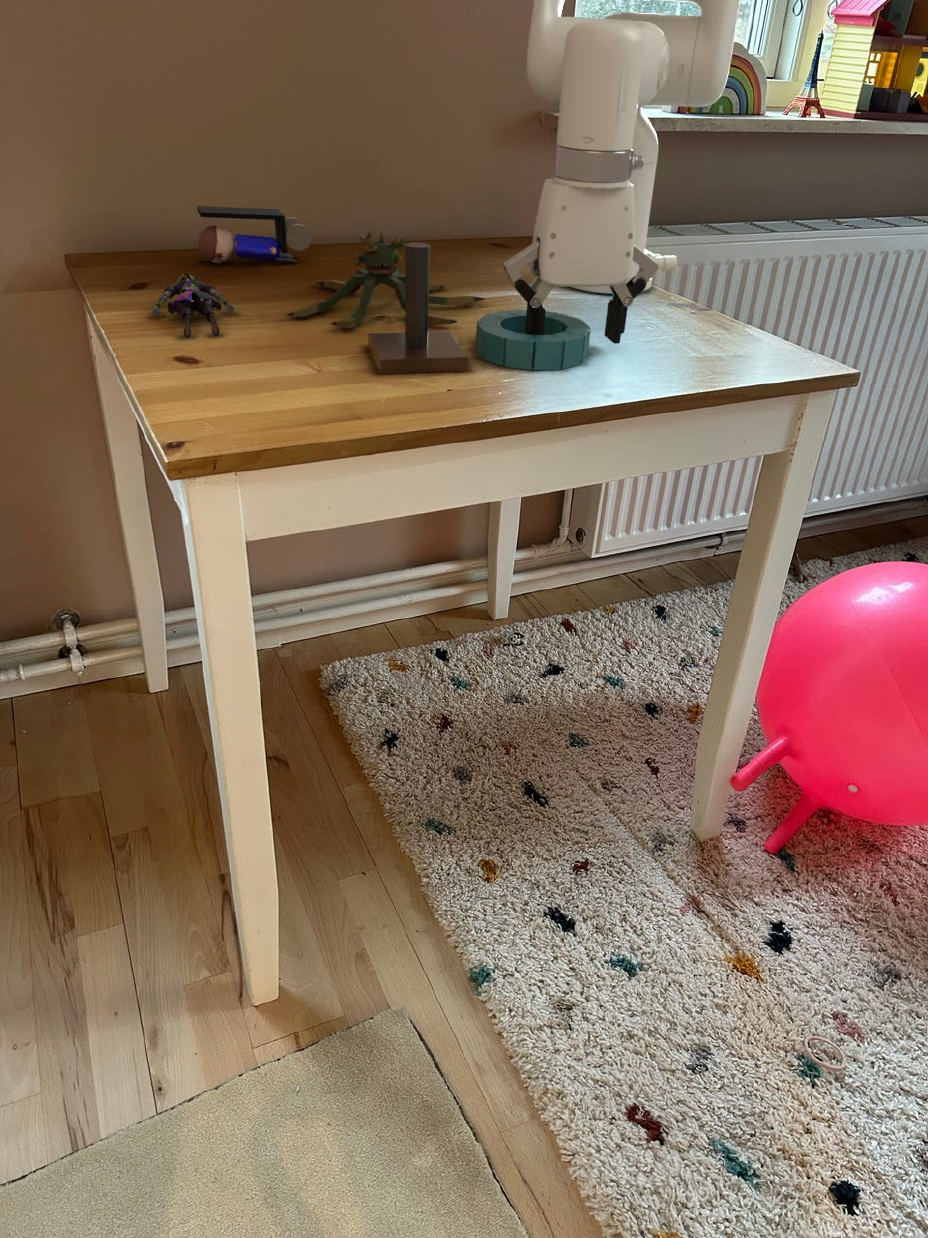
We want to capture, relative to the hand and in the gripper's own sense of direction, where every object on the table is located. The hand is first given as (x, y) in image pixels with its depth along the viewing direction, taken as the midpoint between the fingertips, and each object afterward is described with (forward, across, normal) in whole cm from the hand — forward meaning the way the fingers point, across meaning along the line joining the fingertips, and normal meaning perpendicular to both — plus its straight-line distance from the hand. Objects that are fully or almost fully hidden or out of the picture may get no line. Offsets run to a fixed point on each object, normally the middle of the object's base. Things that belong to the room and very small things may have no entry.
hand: (574, 340), depth 105 cm
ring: (+1, +5, 0) cm, 5 cm away
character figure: (+1, +41, -17) cm, 44 cm away
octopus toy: (+1, +18, -19) cm, 26 cm away
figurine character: (+1, +33, -44) cm, 55 cm away
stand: (+1, +18, +1) cm, 18 cm away
